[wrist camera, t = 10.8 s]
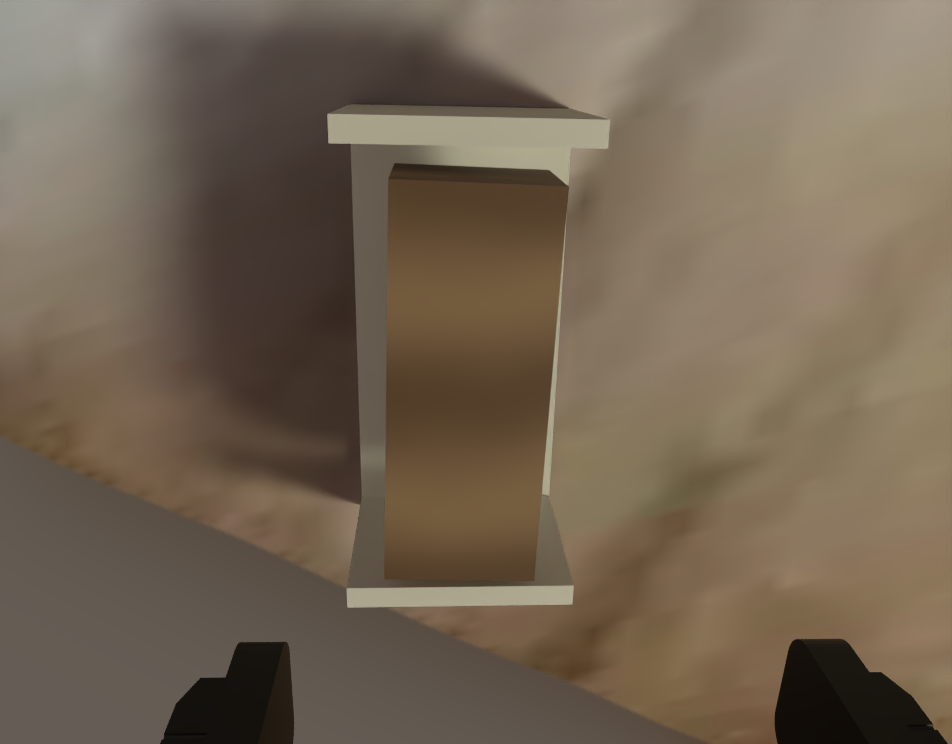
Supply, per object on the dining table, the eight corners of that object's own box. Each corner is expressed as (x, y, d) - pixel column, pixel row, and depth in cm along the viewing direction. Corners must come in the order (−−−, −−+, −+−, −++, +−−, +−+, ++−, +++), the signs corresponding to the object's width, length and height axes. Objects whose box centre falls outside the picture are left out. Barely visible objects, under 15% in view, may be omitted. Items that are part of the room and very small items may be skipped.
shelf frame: (350, 104, 29) (327, 113, 22) (570, 108, 29) (609, 119, 23) (363, 506, 35) (347, 607, 28) (546, 505, 35) (572, 604, 29)
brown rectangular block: (521, 518, 30) (534, 581, 27) (389, 516, 30) (384, 579, 26) (548, 169, 26) (568, 186, 22) (394, 163, 26) (388, 178, 22)
